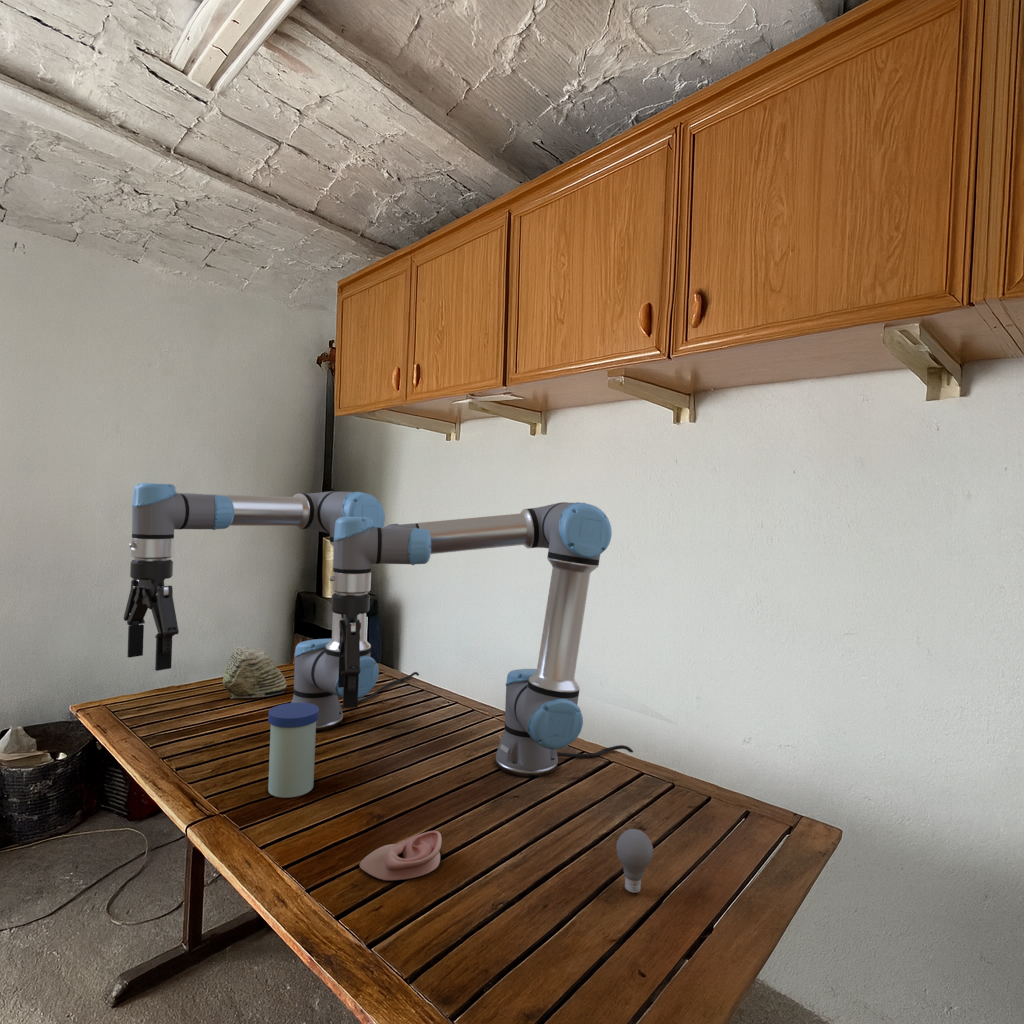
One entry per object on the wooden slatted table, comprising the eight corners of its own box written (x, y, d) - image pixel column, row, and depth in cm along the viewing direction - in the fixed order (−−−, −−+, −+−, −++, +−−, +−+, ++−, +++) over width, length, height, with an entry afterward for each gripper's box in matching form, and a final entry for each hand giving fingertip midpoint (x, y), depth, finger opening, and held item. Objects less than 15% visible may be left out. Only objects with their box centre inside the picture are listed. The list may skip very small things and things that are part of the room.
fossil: (218, 695, 195) (220, 647, 195) (278, 685, 208) (279, 640, 207) (228, 703, 189) (230, 653, 188) (289, 692, 201) (290, 645, 201)
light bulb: (610, 879, 108) (613, 822, 108) (644, 879, 109) (647, 822, 109) (619, 902, 102) (622, 840, 102) (655, 901, 103) (658, 840, 103)
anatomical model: (352, 851, 106) (379, 818, 118) (351, 875, 106) (379, 839, 118) (427, 864, 104) (448, 829, 115) (426, 888, 104) (447, 850, 115)
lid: (275, 710, 142) (276, 702, 142) (322, 711, 143) (323, 702, 143) (262, 727, 131) (262, 718, 131) (312, 727, 132) (313, 718, 132)
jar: (275, 778, 142) (277, 704, 141) (317, 778, 142) (320, 705, 142) (262, 797, 132) (265, 719, 132) (308, 797, 133) (311, 719, 133)
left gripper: (108, 554, 134) (104, 654, 134) (159, 565, 118) (155, 678, 119) (146, 552, 140) (143, 648, 140) (199, 563, 124) (195, 671, 124)
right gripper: (328, 584, 139) (325, 680, 140) (336, 603, 116) (331, 718, 116) (363, 584, 142) (360, 678, 142) (377, 602, 118) (373, 715, 119)
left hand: (148, 662), depth 129 cm, fingers open, 13 cm apart
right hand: (347, 696), depth 129 cm, fingers open, 13 cm apart
